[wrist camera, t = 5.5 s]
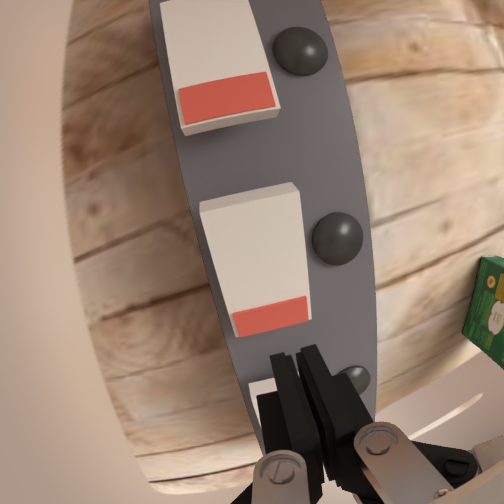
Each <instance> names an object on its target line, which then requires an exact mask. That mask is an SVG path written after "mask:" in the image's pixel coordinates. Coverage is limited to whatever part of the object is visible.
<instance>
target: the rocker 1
mask: <svg viewBox="0 0 504 504" xmlns="http://www.w3.org/2000/svg"><path fill="white" fill-rule="evenodd" d="M160 8H161V15H162V22H163V28H164V35H165V41H166V48H167V54H168V60H169V66H170V72H171V77H172V83H173V89H174V94H175V100H176V105H177V110H178V116H179V121H180V126H181V130H182V131H183V133H184V135H185V136H188V135H192V134H197V133H201V132H205V131H209V130H214V129H218V128H223V127H227V126H232V125H237V124H242V123H247V122H253V121H258V120H264V119H269V118H275V117H277V115H278V113H279V111H280V109H281V107H280V104H279V100H278V96H277V93H276V89H275V86H274V82H273V78H272V75H271V72H270V68H269V65H268V61H267V58H266V55H265V51H264V48H263V45H262V41H261V38H260V35H259V32H258V29H257V26H256V22H255V19H254V16H253V13H252V10H251V7H250V4H249V1H248V0H169V1H166V2H162V3H160Z"/></svg>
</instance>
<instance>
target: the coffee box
mask: <svg viewBox="0 0 504 504" xmlns="http://www.w3.org/2000/svg"><path fill="white" fill-rule="evenodd" d="M462 334H463V335H464V336H465V337H467V338H468V339H469V340H470V341H471V342H472V343H473V344H475V345H476V346H477V347H479V348H480V349H481V350H482V351H483V352H484V353H485V354H487V355H488V356H489V357H490V358H491V359H492V360H493V361H494V362H496V363H497V364H498V365H499V366H500V367H501V368H503V370H504V258H501V257H499V256H496V255H493V256H482V258H481V263H480V267H479V271H478V273H477V281H476V286H475V290H474V294H473V297H472V301H471V305H470V309H469V312H468V314H467V318H466V323H465V326H464V329H463V332H462Z"/></svg>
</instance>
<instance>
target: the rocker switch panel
mask: <svg viewBox="0 0 504 504" xmlns="http://www.w3.org/2000/svg"><path fill="white" fill-rule="evenodd" d="M166 1H169V0H149V7H150V13H151V20H152V26H153V32H154V38H155V44H156V50H157V55H158V61H159V67H160V72H161V77H162V83H163V88H164V93H165V98H166V103H167V108H168V113H169V118H170V123H171V127H172V132H173V137H174V141H175V146H176V151H177V155H178V160H179V164H180V168H181V173H182V177H183V181H184V186H185V190H186V194H187V198H188V202H189V207H190V211H191V215H192V219H193V223H194V227H195V231H196V235H197V239H198V242H199V246H200V250H201V254H202V258H203V262H204V265H205V269H206V273H207V276H208V280H209V284H210V287H211V291H212V295H213V298H214V302H215V305H216V309H217V312H218V316H219V319H220V323H221V326H222V330H223V333H224V336H225V340H226V343H227V346H228V350H229V353H230V356H231V360H232V363H233V366H234V369H235V372H236V376H237V379H238V382H239V385H240V388H241V391H242V395H243V398H244V401H245V404H246V407H247V410H248V413H249V416H250V419H251V422H252V425H253V428H254V431H255V434H256V437H257V440H258V442H259V445H260V448H261V451H262V454H263V456H264V455H266V453H265V447H264V441H263V435H262V429H261V427H260V424H259V421H258V418H257V415H256V412H255V409H254V406H253V403H252V400H251V395H250V389H249V384H248V383H253V382H258V381H262V380H266V379H271V378H274V375H273V370H272V366H271V362H270V357H269V355H273V354H278V353H282V352H284V353H285V356H286V355H290V354H291V356H292V358H293V361H294V364H295V367H296V369H297V372H298V366H297V360H296V353H298V352H301V351H300V348H302V347H305V346H309V345H313V344H316V346H317V347H318V349H319V351H320V353H321V355H322V357H323V359H324V361H325V363H326V365H327V367H328V369H329V371H330V373H331V375H332V376H334V375H337V374H340V373H344V372H345V373H347V375H348V376H349V378H350V380H351V382H352V384H353V385H354V387H355V389H356V391H357V392H358V394H359V396H360V398H361V400H362V401H363V403H364V405H365V407H366V408H367V410H368V412H369V414H370V416H371V417H372V419H373V421H374V422H375V408H376V384H377V317H376V293H375V276H374V262H373V250H372V240H371V230H370V221H369V212H368V204H367V197H366V190H365V183H364V176H363V170H362V164H361V158H360V152H359V147H358V141H357V136H356V131H355V126H354V121H353V116H352V112H351V107H350V103H349V98H348V94H347V90H346V86H345V81H344V77H343V74H342V70H341V66H340V62H339V58H338V55H337V51H336V48H335V44H334V41H333V38H332V34H331V31H330V28H329V25H328V21H327V18H326V15H325V12H324V9H323V6H322V3H321V0H248V1H249V4H250V7H251V10H252V13H253V16H254V19H255V22H256V26H257V29H258V32H259V35H260V38H261V41H262V45H263V48H264V51H265V55H266V58H267V61H268V65H269V68H270V72H271V75H272V78H273V82H274V86H275V89H276V93H277V96H278V100H279V104H280V107H281V109H280V111H279V113H278V115H277V117H275V118H269V119H264V120H258V121H253V122H247V123H242V124H237V125H232V126H227V127H223V128H218V129H214V130H209V131H205V132H201V133H197V134H192V135H188V136H185V135H184V133H183V131H182V130H181V126H180V121H179V116H178V110H177V105H176V100H175V94H174V89H173V83H172V77H171V72H170V66H169V60H168V54H167V48H166V41H165V35H164V28H163V22H162V15H161V8H160V3H162V2H166ZM288 182H292V183H293V184H294V185H295V187H296V188H297V189H298V190H299V192H300V201H301V209H302V218H303V227H304V237H305V247H306V257H307V267H308V279H309V290H310V303H311V316H312V319H311V320H309V321H306V322H302V323H298V324H294V325H290V326H286V327H282V328H278V329H274V330H270V331H266V332H262V333H257V334H253V335H249V336H244V337H236V336H235V333H234V330H233V327H232V324H231V320H230V317H229V314H228V310H227V307H226V304H225V301H224V297H223V294H222V290H221V287H220V284H219V280H218V277H217V273H216V270H215V267H214V263H213V260H212V256H211V253H210V249H209V246H208V242H207V238H206V235H205V231H204V228H203V224H202V220H201V217H200V202H202V201H206V200H210V199H215V198H219V197H223V196H228V195H232V194H236V193H241V192H245V191H250V190H255V189H259V188H264V187H269V186H274V185H279V184H283V183H288Z"/></svg>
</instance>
